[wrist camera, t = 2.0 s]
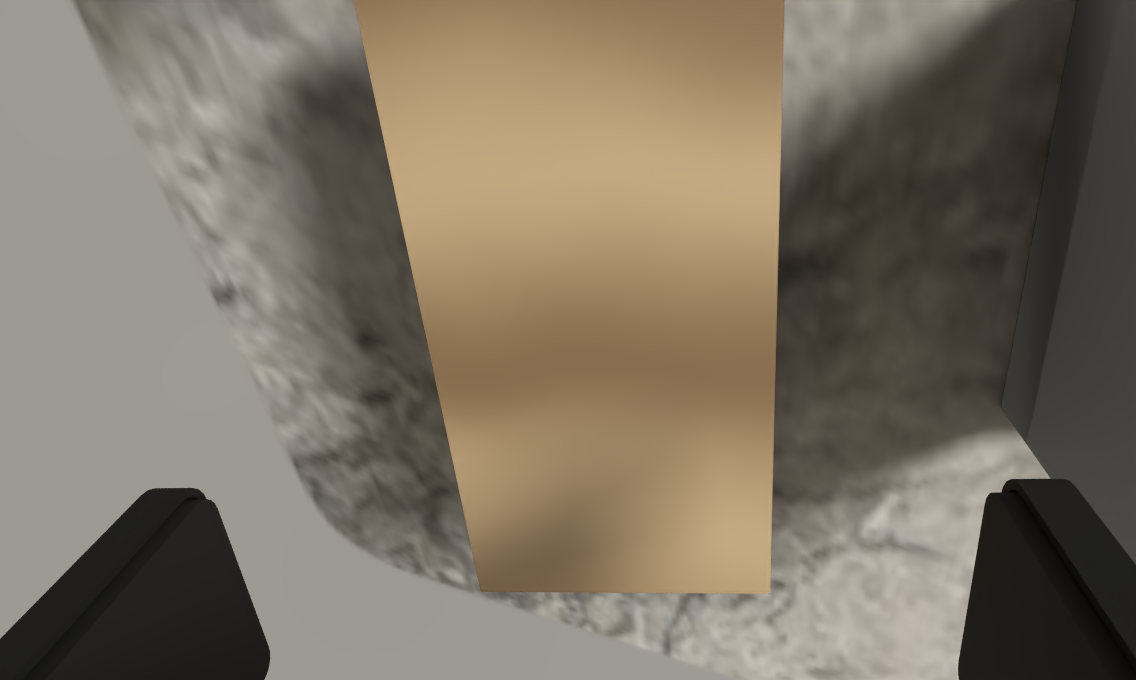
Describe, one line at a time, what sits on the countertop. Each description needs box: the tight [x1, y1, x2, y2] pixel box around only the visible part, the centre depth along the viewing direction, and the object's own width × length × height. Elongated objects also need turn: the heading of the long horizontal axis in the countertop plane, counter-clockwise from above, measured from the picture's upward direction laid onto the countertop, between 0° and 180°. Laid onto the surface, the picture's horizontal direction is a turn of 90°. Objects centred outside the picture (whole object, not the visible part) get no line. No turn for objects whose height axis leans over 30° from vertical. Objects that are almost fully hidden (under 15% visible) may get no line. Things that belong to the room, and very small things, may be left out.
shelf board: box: [354, 0, 784, 594], centre depth 14 cm, size 12×6×2 cm, turn 6°
